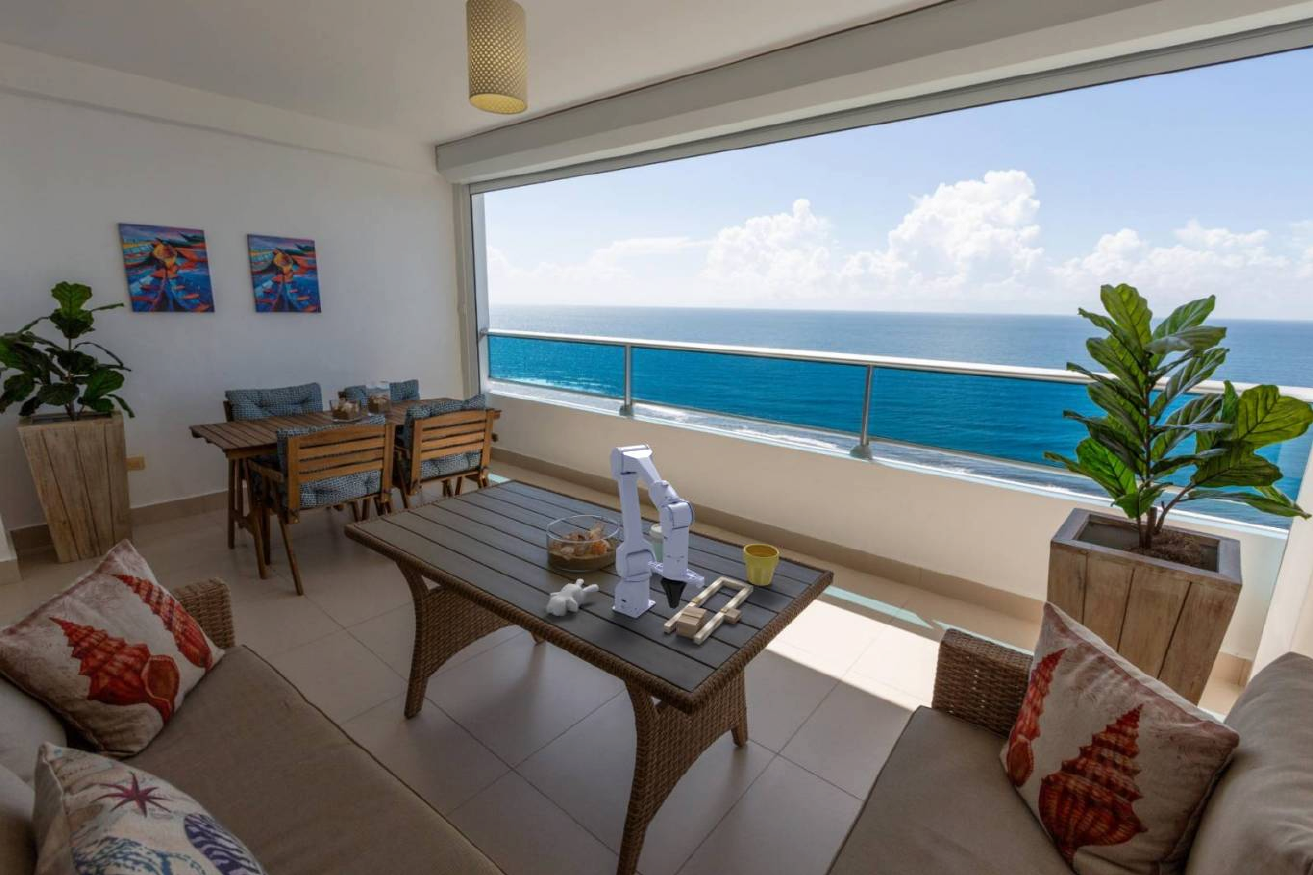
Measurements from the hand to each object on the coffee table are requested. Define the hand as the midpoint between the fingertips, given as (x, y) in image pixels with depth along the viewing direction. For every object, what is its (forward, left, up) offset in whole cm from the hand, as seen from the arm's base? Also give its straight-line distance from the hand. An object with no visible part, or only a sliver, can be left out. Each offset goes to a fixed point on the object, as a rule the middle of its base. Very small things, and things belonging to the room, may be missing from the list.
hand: (674, 606), depth 130 cm
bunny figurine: (0, +33, -11) cm, 34 cm away
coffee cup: (+36, +26, -11) cm, 46 cm away
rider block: (+9, 0, -11) cm, 14 cm away
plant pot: (+43, -4, -11) cm, 44 cm away
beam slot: (+20, -1, -10) cm, 22 cm away
